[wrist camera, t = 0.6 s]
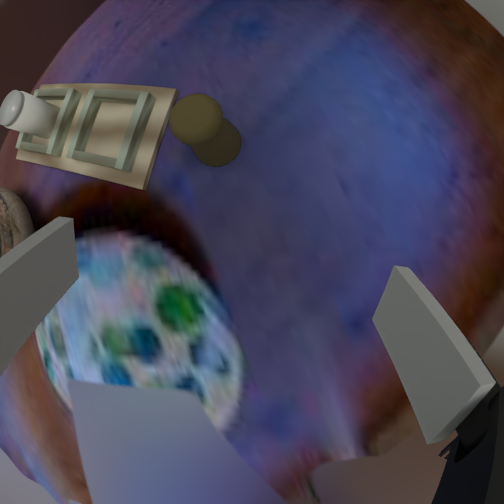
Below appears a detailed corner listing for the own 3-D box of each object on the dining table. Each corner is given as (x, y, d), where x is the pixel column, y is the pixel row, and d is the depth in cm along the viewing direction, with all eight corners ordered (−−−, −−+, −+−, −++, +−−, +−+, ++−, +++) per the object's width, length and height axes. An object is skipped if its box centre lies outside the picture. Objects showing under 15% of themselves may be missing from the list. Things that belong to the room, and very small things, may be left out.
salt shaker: (47, 106, 36) (6, 89, 26) (67, 107, 35) (25, 87, 25) (36, 137, 37) (-7, 125, 26) (56, 140, 36) (10, 126, 26)
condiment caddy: (44, 86, 37) (32, 80, 33) (178, 92, 35) (169, 81, 31) (20, 159, 39) (6, 157, 35) (146, 190, 36) (132, 187, 33)
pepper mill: (198, 119, 35) (167, 84, 24) (244, 123, 34) (228, 85, 23) (190, 164, 36) (153, 143, 25) (237, 169, 35) (217, 146, 24)
